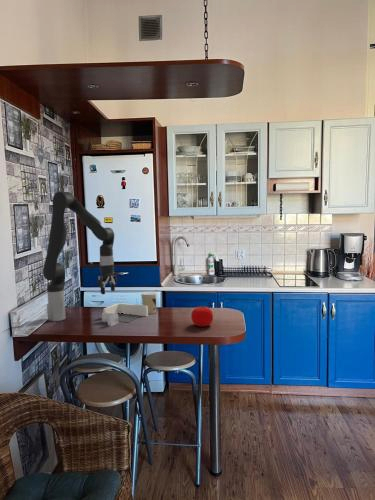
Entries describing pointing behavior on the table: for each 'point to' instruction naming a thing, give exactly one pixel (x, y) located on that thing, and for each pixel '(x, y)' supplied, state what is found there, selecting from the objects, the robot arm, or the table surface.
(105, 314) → the bracket
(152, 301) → the coffee cup
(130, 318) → the mat
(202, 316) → the tomato
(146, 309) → the corner wall
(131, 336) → the table surface
